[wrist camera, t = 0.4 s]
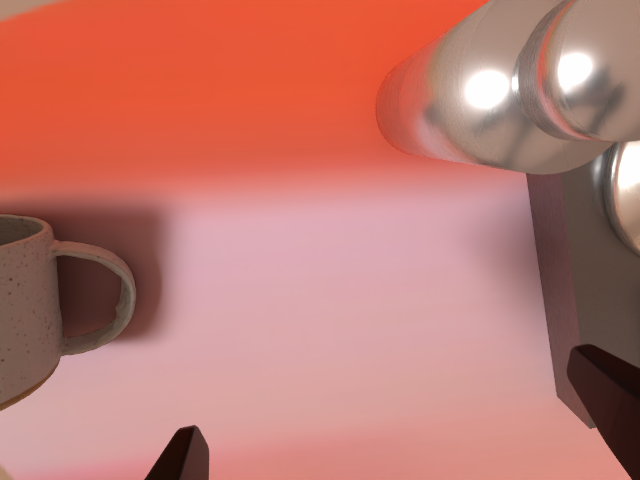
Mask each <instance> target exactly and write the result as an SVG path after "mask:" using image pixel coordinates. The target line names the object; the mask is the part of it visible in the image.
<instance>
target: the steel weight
mask: <svg viewBox="0 0 640 480" xmlns="http://www.w3.org/2000/svg"><path fill="white" fill-rule="evenodd" d="M376 118H377V123H378V126H379V129H380V131H381V133H382V134H383V136H384V138H385V139H386V140H387V141H388V142H389V143H390V144H391V145H392V146H393V147H395V148H396V149H397V150H399V151H401V152H404V153H407V154H411V155H417V156H423V157H429V158H435V159H442V160H448V161H454V162H460V163H467V164H473V165H479V166H485V167H491V168H498V169H504V170H510V171H516V172H523V173H529V174H541V175H546V174H556V173H561V172H565V171H569V170H572V169H575V168H577V167H580V166H582V165H584V164H586V163H588V162H590V161H591V160H593V159H594V158H596V157H598V156H599V155H601V154H602V153H603V152H604V151H606V150H607V149H608V148H609V147H610V146H612V144H613V143H614V142H632V141H639V140H640V0H490V1H489V2H487V3H486V4H484V5H483V6H482V7H480V8H479V9H477V10H476V11H474V12H473V13H472V14H470V15H469V16H467V17H466V18H464V19H463V20H462V21H460V22H459V23H457V24H456V25H454V26H453V27H452V28H450V29H449V30H447V31H446V32H444V33H443V34H441V35H440V36H439V37H437V38H436V39H434V40H433V41H431V42H430V43H429V44H427V45H426V46H424V47H423V48H421V49H420V50H419V51H417V52H416V53H414V54H413V55H411V56H410V57H409V58H407V59H406V60H404V61H403V62H401V63H400V64H399V65H397V66H396V67H395V68H394V69H392V70H391V71H390V73H389V74H388V75H387V76H386V78H385V79H384V81H383V82H382V84H381V86H380V89H379V91H378V94H377V99H376Z"/></svg>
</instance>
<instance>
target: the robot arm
mask: <svg viewBox="0 0 640 480" xmlns="http://www.w3.org/2000/svg"><path fill="white" fill-rule="evenodd" d="M566 374H567V377H568V379H569V381H570V383H571V385H572V387H573V388H574V390H575V392H576V393H577V395H578V397H579V398H580V400H581V402H582V404H583V405H584V407H585V409H586V410H587V412H588V414H589V415H590V417H591V419H592V421H593V422H594V424H595V426H596V427H597V429H598V431H599V432H600V434H601V436H602V437H603V439H604V440H605V442H606V444H607V445H608V447H609V448H610V449H611V451H612V452H613V454H614V455H615V457H616V458H617V459H618V461H619V462H620V463H621V465H622V466H623V468H624V469H625V470H626V472H627V473H628V475H629V476H630V477H631V479H632V480H640V368H639V367H637V366H635V365H633V364H631V363H629V362H627V361H625V360H623V359H621V358H619V357H617V356H615V355H613V354H611V353H609V352H607V351H605V350H603V349H601V348H599V347H597V346H595V345H592V344H583V345H578V346H574V347H572V348H571V350H570V354H569V358H568V363H567V368H566ZM144 480H209V448H208V445H207V443H206V441H205V439H204V437H203V435H202V433H201V431H200V430H199V428H198V427H197V426H196V425H192V426H188V427H183V428H180V429H179V430H177V432H176V433H175V434H174V436H173V437H172V439H171V440H170V442H169V443H168V445H167V446H166V448H165V449H164V451H163V452H162V454H161V455H160V457H159V458H158V460H157V461H156V463H155V464H154V466H153V467H152V469H151V470H150V472H149V473H148V475H147V476H146V478H145V479H144Z"/></svg>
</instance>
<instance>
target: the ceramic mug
mask: <svg viewBox="0 0 640 480" xmlns="http://www.w3.org/2000/svg"><path fill="white" fill-rule="evenodd" d="M61 255H65V256H72V257H79V258H84V259H88V260H92V261H96V262H99V263H101V264H103V265H104V266H106V267H108V268H109V269H111V270H113V272H114V273H115V274H117V275H119V276H120V277H121V296H120V301H119V304H118V305H117V306H116V308H115V309H116V314H117V317H116V319H114V320H113V321H112V322H111V323H109V324H108V325H107V326H105V327H103V328H101V329H98V330H95V331H94V332H92V333H87V334H84V335H80V336H75V337H69V338H65V337H63V325H62V318H61V311H60V308H59V290H58V276H57V261H56V256H61ZM135 304H136V287H135V281H134V277H133V274H132V272H131V271H130V269H129V267H128V265H127V264H126V263H125V262H124V261H123V260H122V259H121V258H119V257H118V256H116V255H115V254H114V253H112V252H111V251H109V250H106V249H104V248H101V247H98V246H94V245H90V244H86V243H78V242H71V241H58V240H55V239H54V235H53V231H52V227H51V226H50V225H49V224H48V223H47V222H46V221H43V220H40V219H38V218H34V217H26V216H17V215H10V214H0V411H1V410H3V409H5V408H7V407H9V406H11V405H13V404H15V403H17V402H19V401H20V400H22V399H24V398H25V397H27V396H29V395H30V394H31V393H33V392H34V391H35V390H36V389H38V388H39V387H40V386H41V385H42V384H43V383H44V382H45V381H46V380H47V379H48V378H49V377H50V376H51V375H52V374H53V372H54V371H55V369H56V367H57V366H58V364H59V361H60V357H61V356H64V355H74V354H79V353H84V352H87V351H90V350H94V349H97V348H99V347H101V346H103V345H105V344H107V343H109V342H110V341H112V340H113V339H115V338H116V337H117V336H118V335H119V334H120V333H121V332H122V331H123V330H124V328H125V327H126V326H127V324H128V323H129V322H130V320H131V318H132V316H133V313H134V308H135Z"/></svg>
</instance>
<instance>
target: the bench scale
mask: <svg viewBox="0 0 640 480" xmlns="http://www.w3.org/2000/svg"><path fill="white" fill-rule="evenodd" d="M526 175H527V182H528V189H529V197H530V204H531V211H532V218H533V226H534V233H535V240H536V247H537V254H538V262H539V269H540V276H541V283H542V291H543V298H544V305H545V312H546V319H547V327H548V334H549V341H550V348H551V356H552V363H553V370H554V377H555V384H556V392H557V397H558V398H559V399H560V400H561V401H562V402H563V403H564V404H565V405H566V406H567V407H568V408H569V409H570V410H571V411H572V412H573V413H574V414H575V415H576V416H577V417H579V418H580V419H581V420H582V421H583V422H584V423H585V424H586V425H587V426H588V427H589V428H590V429H592V428H595V427H596V426H595V424H594V422H593V421H592V419H591V417H590V415H589V414H588V412H587V410H586V409H585V407H584V405H583V404H582V402H581V400H580V398H579V397H578V395H577V393H576V392H575V390H574V388H573V387H572V385H571V383H570V381H569V379H568V377H567V374H566V368H567V363H568V358H569V354H570V350H571V348H572V347H574V346H578V345H583V344H592V345H595V346H597V347H599V348H601V349H603V350H605V351H607V352H609V353H611V354H613V355H615V356H617V357H619V358H621V359H623V360H625V361H627V362H629V363H631V364H633V365H635V366H637V367H639V368H640V140H639V141H632V142H614V143H613V144H612V146H610V147H609V148H608V149H607V150H606V151H604V152H603V153H602V154H601V155H599V156H598V157H596V158H594V159H593V160H591V161H590V162H588V163H586V164H584V165H582V166H580V167H577V168H575V169H572V170H569V171H565V172H561V173H556V174H546V175H541V174H529V173H526Z"/></svg>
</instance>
